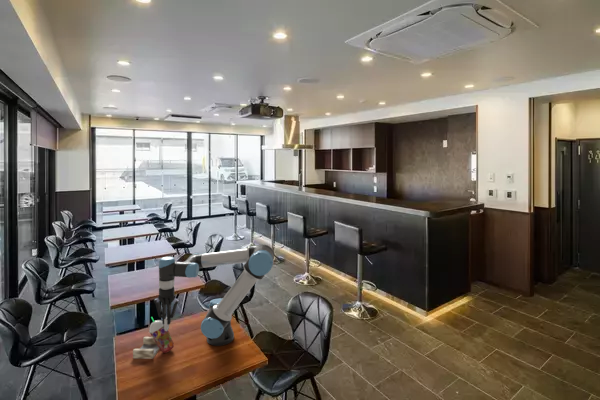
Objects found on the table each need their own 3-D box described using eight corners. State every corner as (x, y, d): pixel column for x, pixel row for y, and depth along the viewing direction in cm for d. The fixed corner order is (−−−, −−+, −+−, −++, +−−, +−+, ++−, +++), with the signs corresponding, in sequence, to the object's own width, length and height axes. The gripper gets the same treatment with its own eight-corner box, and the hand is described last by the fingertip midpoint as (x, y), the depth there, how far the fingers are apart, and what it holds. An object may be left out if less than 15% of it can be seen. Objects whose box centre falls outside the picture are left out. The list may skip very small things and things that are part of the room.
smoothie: (170, 352, 173) (153, 319, 170) (157, 356, 175) (140, 323, 172) (179, 342, 181) (162, 310, 178) (166, 346, 183) (150, 314, 180)
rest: (163, 344, 184) (162, 337, 184) (152, 358, 171) (152, 350, 171) (144, 344, 184) (144, 336, 184) (133, 358, 171) (132, 350, 171)
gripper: (181, 284, 177) (181, 326, 180) (157, 283, 177) (157, 325, 180) (176, 290, 170) (176, 334, 173) (150, 289, 169) (151, 332, 172)
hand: (166, 329), depth 176 cm, fingers closed
